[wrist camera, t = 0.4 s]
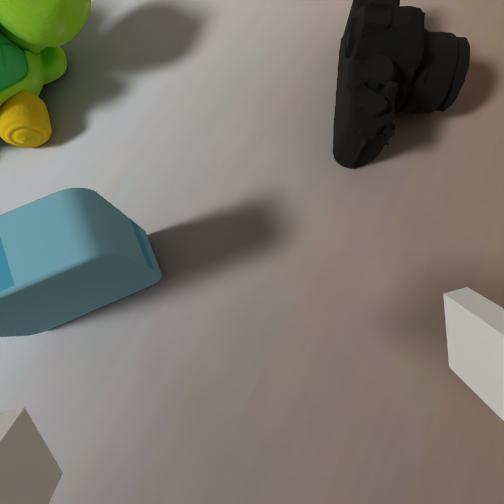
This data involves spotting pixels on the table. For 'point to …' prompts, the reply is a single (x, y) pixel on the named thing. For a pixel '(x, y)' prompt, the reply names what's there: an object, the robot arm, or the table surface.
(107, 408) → the table surface
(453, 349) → the robot arm
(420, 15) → the film camera
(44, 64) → the turtle toy
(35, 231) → the data package
